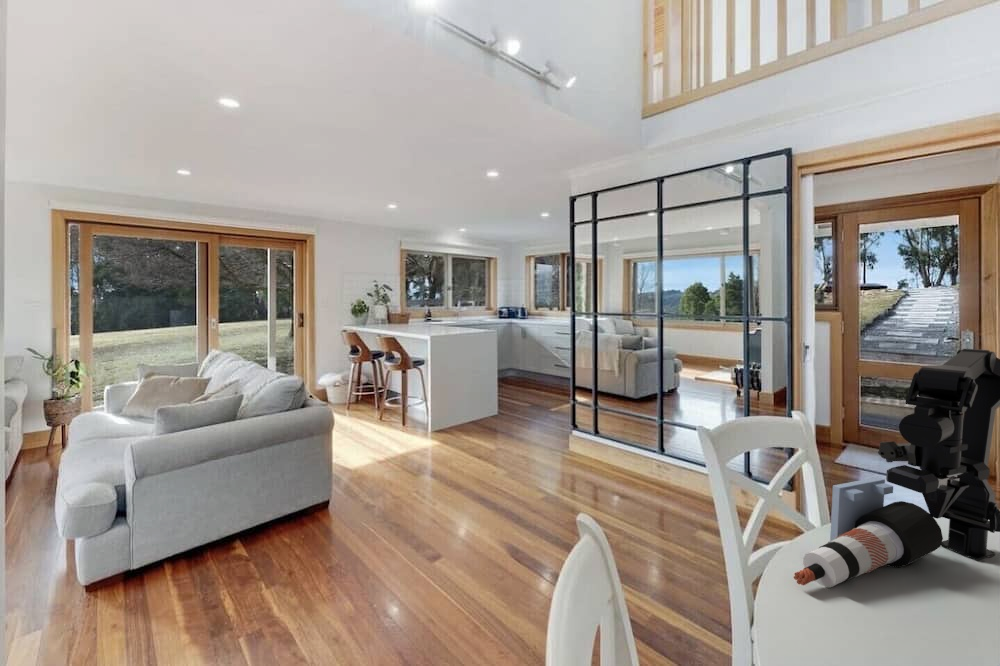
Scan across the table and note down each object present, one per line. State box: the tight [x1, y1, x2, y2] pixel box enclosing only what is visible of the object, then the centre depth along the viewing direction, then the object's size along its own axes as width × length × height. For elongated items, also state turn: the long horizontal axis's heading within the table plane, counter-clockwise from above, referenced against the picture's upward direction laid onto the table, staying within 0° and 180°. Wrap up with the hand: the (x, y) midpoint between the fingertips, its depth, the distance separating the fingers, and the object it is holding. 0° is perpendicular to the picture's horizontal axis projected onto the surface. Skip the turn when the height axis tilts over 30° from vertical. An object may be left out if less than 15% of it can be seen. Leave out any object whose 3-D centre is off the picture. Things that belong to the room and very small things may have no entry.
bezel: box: [829, 476, 894, 541], centre depth 97 cm, size 14×4×14 cm, turn 109°
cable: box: [793, 501, 944, 588], centre depth 89 cm, size 10×34×10 cm, turn 111°
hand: (935, 517), depth 85 cm, fingers closed
